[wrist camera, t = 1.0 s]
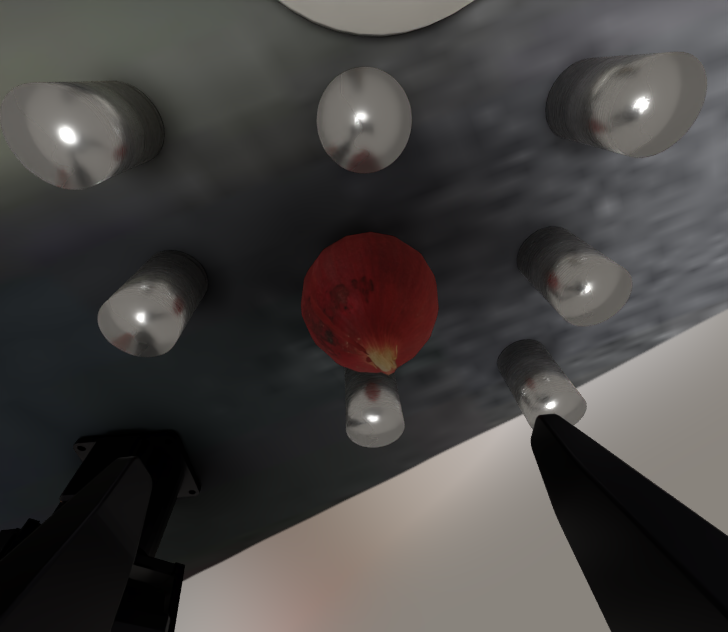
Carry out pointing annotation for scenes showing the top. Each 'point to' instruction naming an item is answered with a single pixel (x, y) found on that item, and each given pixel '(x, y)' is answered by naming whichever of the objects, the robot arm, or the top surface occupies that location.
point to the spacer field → (366, 155)
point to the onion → (370, 302)
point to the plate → (374, 14)
